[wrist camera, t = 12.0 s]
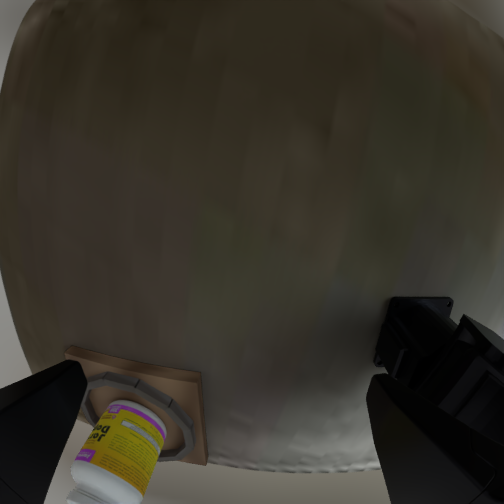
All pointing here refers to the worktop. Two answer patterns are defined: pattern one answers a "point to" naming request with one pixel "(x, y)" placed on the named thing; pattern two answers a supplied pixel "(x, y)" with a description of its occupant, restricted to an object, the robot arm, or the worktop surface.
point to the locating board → (148, 399)
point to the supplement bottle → (118, 456)
